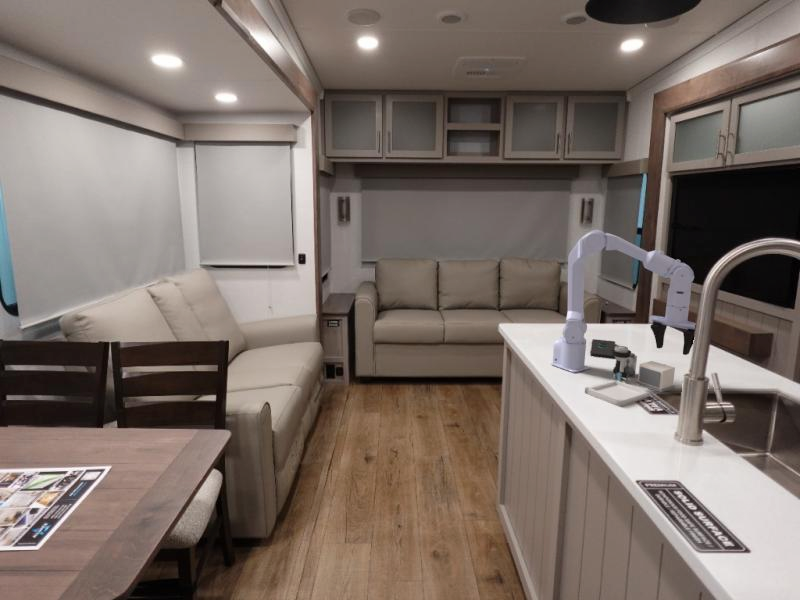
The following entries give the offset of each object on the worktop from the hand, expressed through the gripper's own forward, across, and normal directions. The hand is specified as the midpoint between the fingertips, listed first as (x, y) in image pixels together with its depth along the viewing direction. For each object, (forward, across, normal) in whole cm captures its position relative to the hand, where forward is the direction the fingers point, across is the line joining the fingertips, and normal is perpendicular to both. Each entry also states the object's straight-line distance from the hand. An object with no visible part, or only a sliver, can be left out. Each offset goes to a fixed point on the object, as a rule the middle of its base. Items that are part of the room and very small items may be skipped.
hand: (672, 350), depth 144 cm
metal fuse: (+9, -10, -4) cm, 15 cm away
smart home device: (+10, -30, +13) cm, 34 cm away
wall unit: (+9, 0, -7) cm, 12 cm away
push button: (+10, -9, -12) cm, 17 cm away
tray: (+9, -2, -23) cm, 25 cm away
